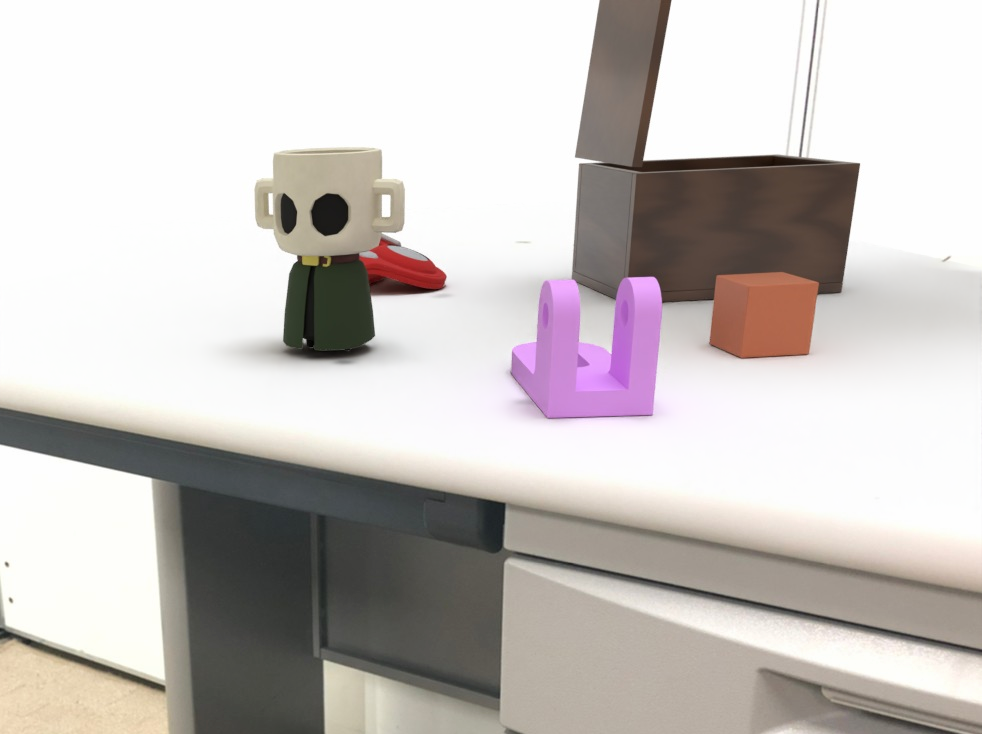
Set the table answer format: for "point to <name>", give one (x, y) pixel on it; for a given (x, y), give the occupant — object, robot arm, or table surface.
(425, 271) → the tracker holder
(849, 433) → the table surface
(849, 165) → the walnut box
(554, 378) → the bracket
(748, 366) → the table surface
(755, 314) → the block
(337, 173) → the character mug
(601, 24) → the lid
